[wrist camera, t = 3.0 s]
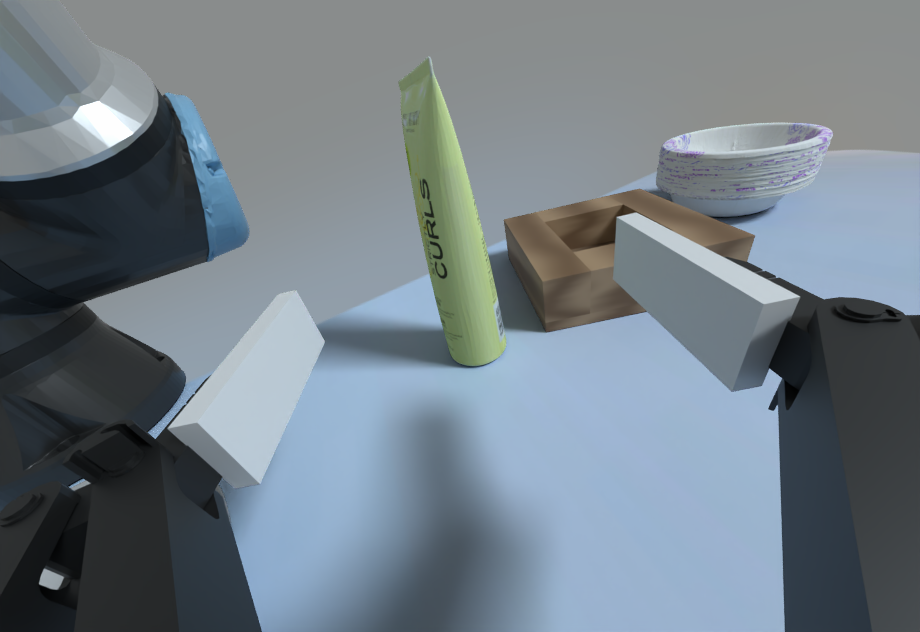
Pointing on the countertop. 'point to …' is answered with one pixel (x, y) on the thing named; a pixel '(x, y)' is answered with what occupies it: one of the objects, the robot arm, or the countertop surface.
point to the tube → (449, 224)
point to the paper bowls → (740, 166)
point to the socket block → (598, 253)
